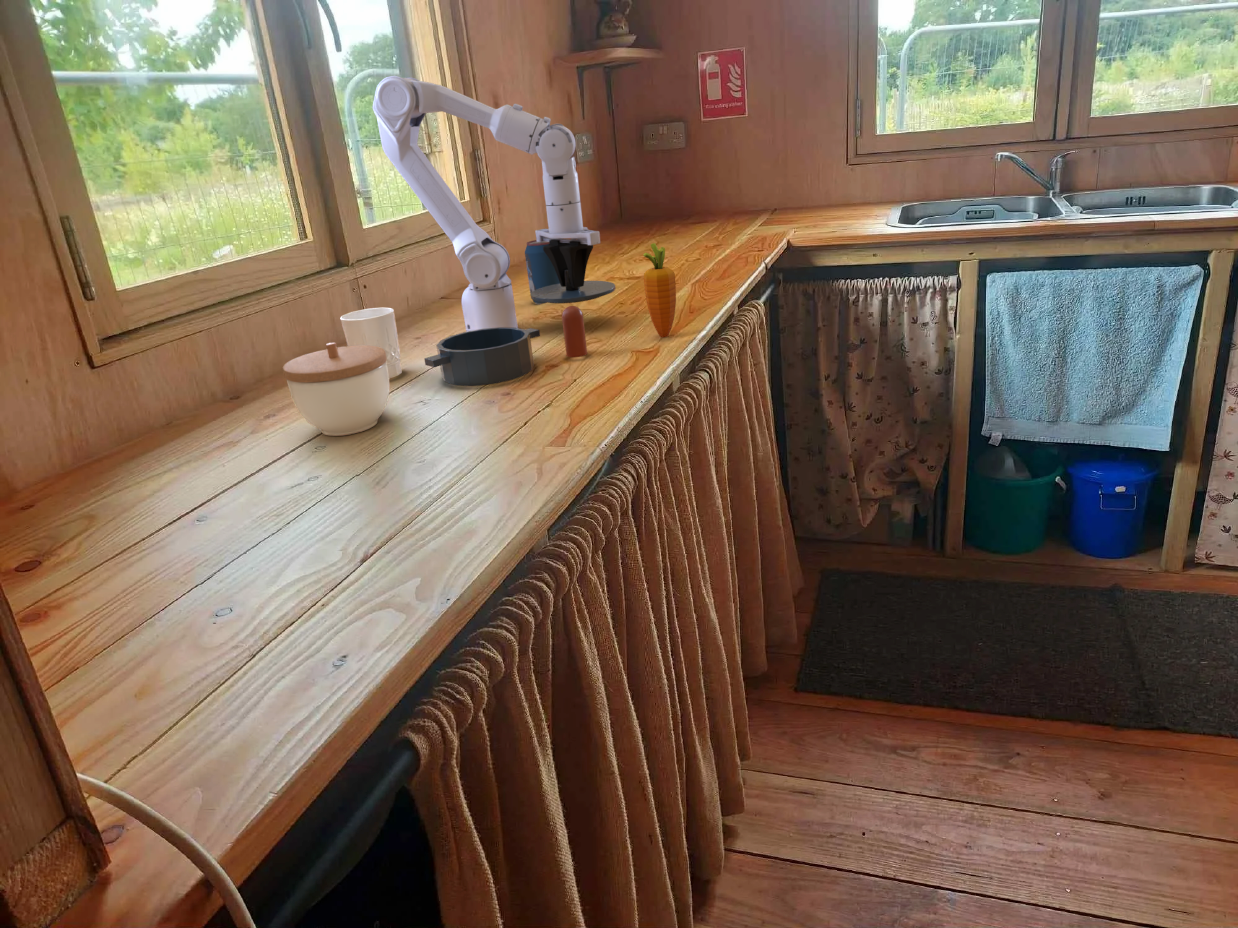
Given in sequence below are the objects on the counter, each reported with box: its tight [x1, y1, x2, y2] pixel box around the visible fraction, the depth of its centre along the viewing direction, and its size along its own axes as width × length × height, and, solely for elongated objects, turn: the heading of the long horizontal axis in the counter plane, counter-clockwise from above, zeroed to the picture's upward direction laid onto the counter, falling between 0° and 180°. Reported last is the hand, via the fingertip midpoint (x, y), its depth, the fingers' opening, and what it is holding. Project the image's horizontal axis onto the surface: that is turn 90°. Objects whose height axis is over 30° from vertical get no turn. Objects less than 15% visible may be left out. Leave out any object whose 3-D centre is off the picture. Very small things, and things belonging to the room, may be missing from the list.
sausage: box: [561, 305, 588, 358], centre depth 132 cm, size 3×3×8 cm
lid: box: [529, 268, 616, 304], centre depth 148 cm, size 14×14×5 cm
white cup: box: [339, 307, 403, 379], centre depth 132 cm, size 8×8×10 cm
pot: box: [424, 327, 541, 387], centre depth 129 cm, size 13×19×6 cm
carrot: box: [642, 242, 677, 339], centre depth 136 cm, size 5×5×15 cm
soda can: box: [524, 239, 560, 306], centre depth 174 cm, size 7×7×12 cm
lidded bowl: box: [282, 341, 390, 437], centre depth 111 cm, size 13×13×11 cm
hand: (572, 286), depth 148 cm, fingers closed on lid, 2 cm apart
